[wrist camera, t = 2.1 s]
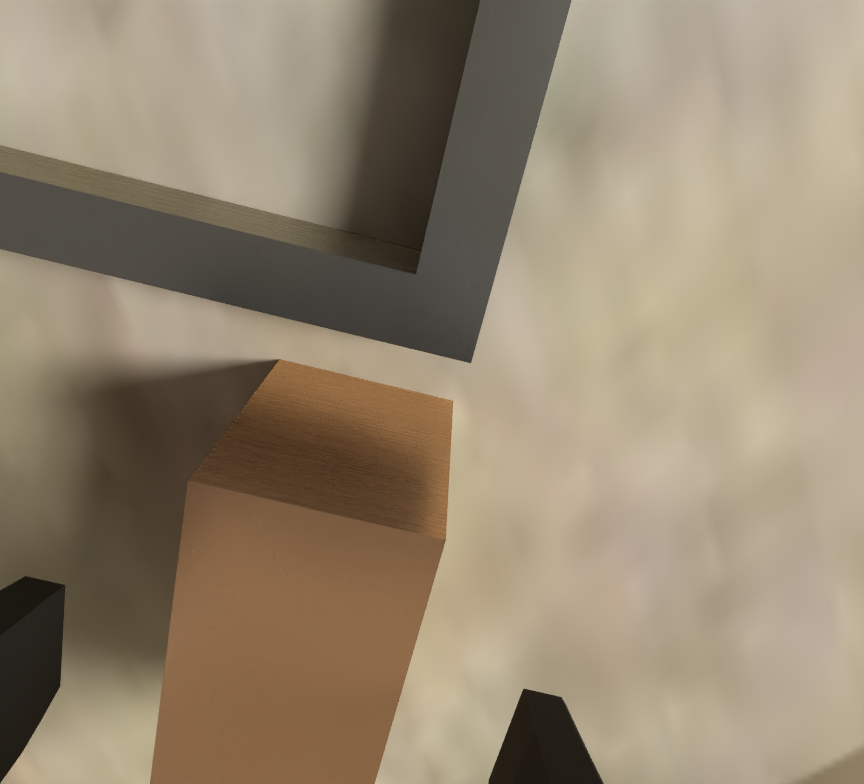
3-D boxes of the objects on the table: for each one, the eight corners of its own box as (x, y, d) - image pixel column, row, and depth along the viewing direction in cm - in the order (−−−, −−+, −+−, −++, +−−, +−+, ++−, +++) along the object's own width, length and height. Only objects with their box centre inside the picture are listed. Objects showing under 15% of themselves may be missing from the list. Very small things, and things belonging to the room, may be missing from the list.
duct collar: (470, 328, 13) (471, 363, 12) (-136, 179, 13) (-238, 191, 11) (605, -170, 11) (635, -229, 9) (-171, -387, 10) (-315, -499, 8)
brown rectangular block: (380, 665, 17) (346, 878, 12) (234, 633, 17) (143, 835, 12) (453, 399, 14) (446, 539, 10) (281, 358, 14) (187, 480, 9)
